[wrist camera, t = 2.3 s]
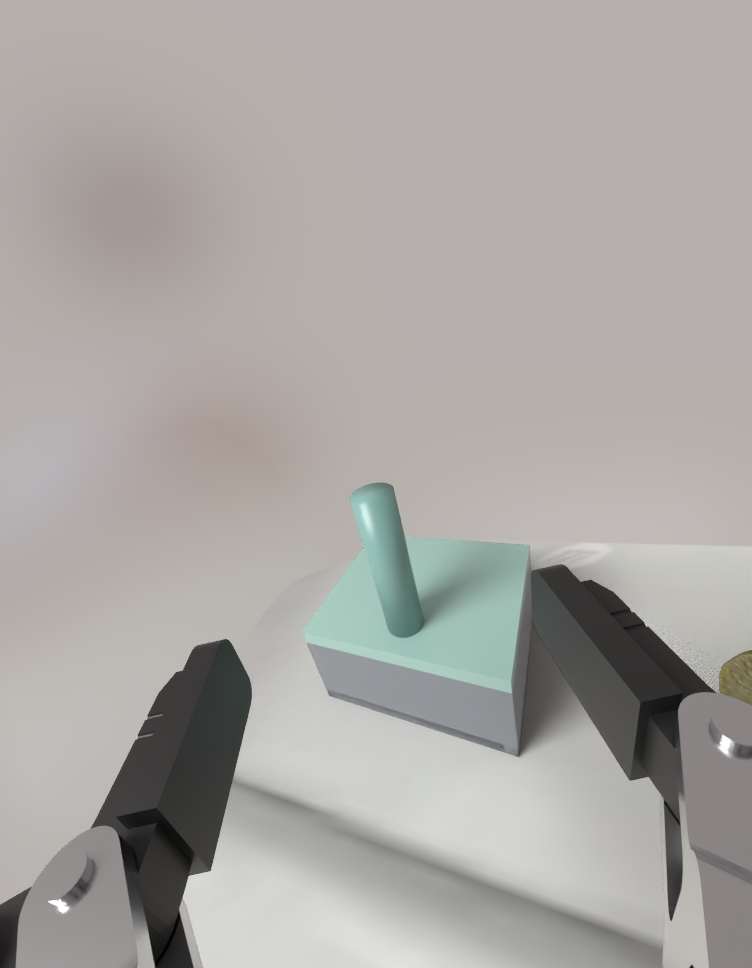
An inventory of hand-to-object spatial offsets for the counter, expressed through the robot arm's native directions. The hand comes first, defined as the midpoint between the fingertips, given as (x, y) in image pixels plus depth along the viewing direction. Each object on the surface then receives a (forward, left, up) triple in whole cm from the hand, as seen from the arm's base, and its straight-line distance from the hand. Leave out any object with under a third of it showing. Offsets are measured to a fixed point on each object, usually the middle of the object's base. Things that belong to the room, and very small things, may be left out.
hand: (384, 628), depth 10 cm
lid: (+5, -13, -13) cm, 20 cm away
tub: (+5, -13, -18) cm, 23 cm away
